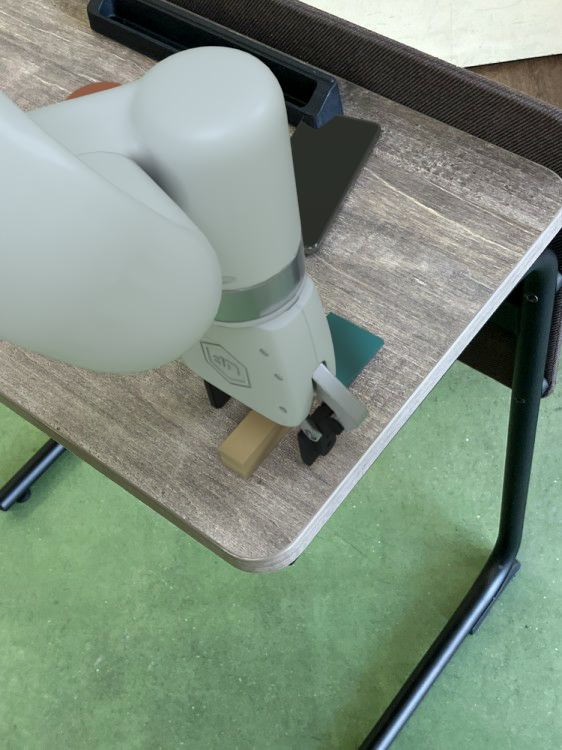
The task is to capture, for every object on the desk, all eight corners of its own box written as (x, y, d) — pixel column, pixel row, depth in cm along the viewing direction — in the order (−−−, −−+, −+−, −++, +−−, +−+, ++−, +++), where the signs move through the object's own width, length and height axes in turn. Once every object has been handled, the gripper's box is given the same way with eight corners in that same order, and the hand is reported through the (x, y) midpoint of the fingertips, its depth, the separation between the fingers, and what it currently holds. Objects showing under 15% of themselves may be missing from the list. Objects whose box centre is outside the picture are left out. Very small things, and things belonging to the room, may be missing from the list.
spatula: (262, 490, 66) (258, 474, 64) (207, 455, 68) (202, 438, 66) (384, 343, 72) (384, 324, 70) (330, 314, 74) (329, 295, 72)
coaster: (73, 145, 88) (71, 140, 88) (54, 101, 92) (52, 96, 91) (144, 120, 89) (143, 115, 88) (123, 77, 93) (121, 72, 92)
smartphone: (383, 122, 84) (314, 251, 76) (384, 131, 85) (315, 260, 77) (307, 106, 86) (232, 229, 78) (308, 115, 87) (234, 238, 79)
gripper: (83, 240, 56) (149, 400, 70) (323, 377, 49) (341, 524, 63) (167, 162, 59) (213, 332, 73) (405, 281, 52) (404, 442, 66)
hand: (272, 420), depth 68 cm, fingers open, 7 cm apart
